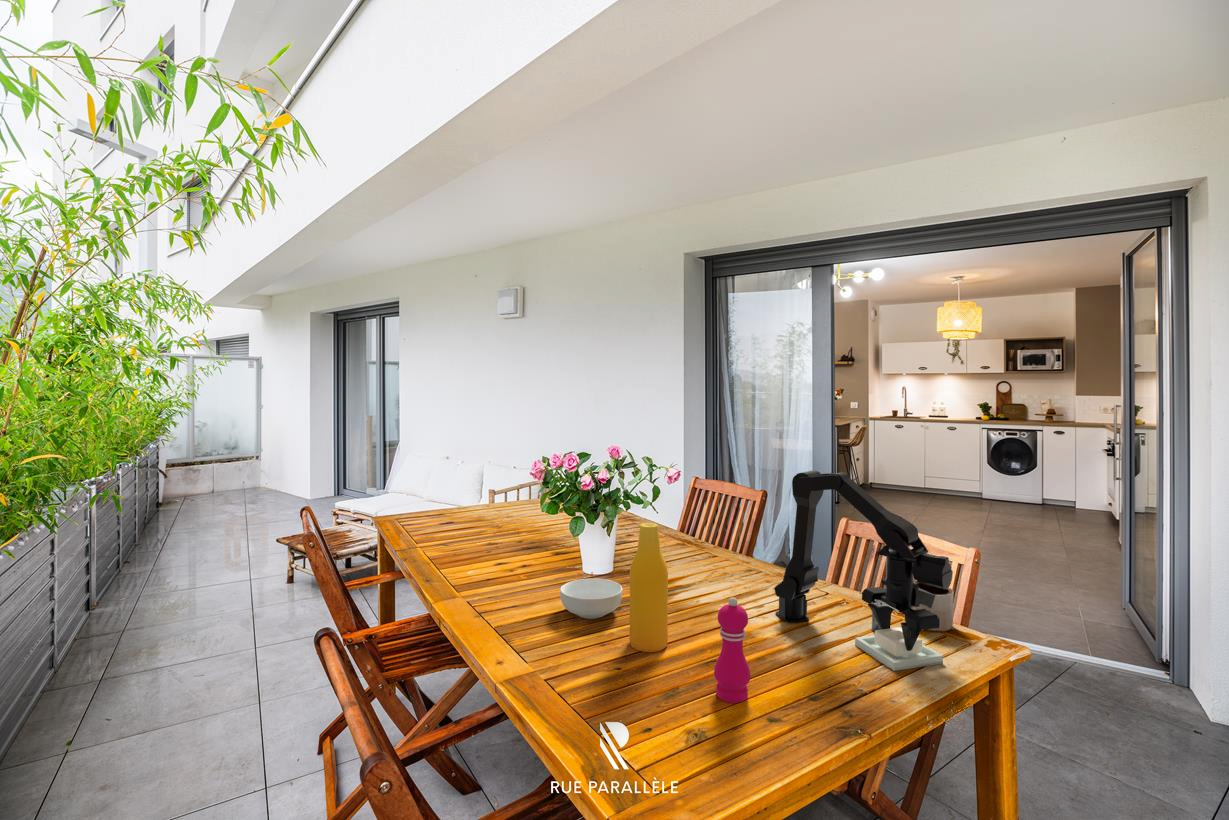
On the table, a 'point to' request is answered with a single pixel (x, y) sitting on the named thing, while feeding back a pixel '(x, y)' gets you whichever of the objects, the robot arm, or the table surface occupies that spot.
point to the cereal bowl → (591, 597)
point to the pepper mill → (732, 654)
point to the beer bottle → (648, 593)
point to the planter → (939, 606)
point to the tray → (898, 662)
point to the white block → (895, 642)
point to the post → (875, 623)
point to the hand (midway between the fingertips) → (897, 643)
